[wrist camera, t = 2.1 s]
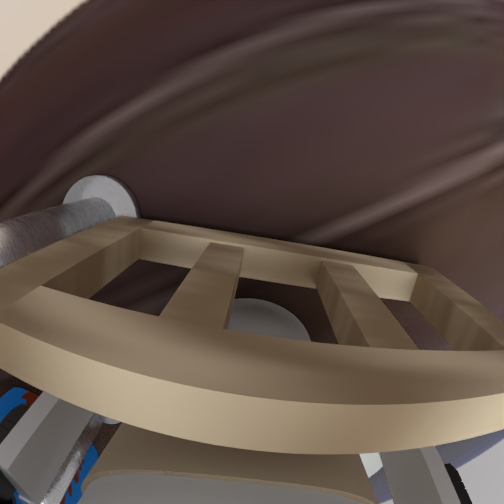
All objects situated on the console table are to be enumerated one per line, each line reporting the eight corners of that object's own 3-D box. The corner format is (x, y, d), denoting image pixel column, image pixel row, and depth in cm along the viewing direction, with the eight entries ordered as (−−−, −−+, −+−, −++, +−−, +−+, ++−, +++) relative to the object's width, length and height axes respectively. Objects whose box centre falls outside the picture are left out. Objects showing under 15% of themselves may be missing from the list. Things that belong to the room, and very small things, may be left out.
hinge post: (67, 255, 14) (-113, 374, 2) (69, 172, 13) (-154, 221, 1) (139, 271, 14) (-42, 457, 2) (145, 178, 13) (-131, 250, 1)
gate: (120, 242, 13) (-36, 345, 4) (121, 215, 12) (-50, 295, 4) (422, 291, 13) (543, 414, 4) (430, 267, 12) (566, 377, 4)
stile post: (81, 407, 17) (19, 505, 8) (71, 367, 16) (-11, 471, 6) (129, 424, 17) (78, 538, 8) (124, 385, 16) (53, 512, 6)
